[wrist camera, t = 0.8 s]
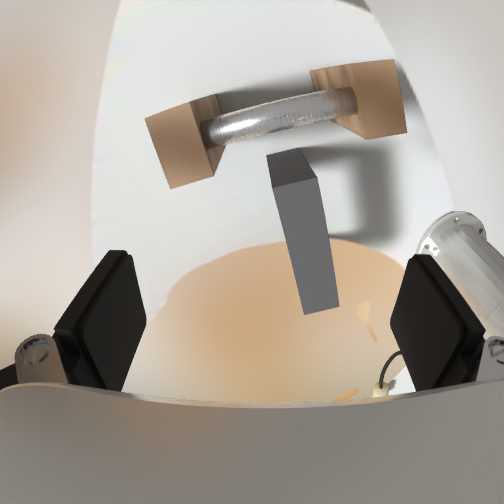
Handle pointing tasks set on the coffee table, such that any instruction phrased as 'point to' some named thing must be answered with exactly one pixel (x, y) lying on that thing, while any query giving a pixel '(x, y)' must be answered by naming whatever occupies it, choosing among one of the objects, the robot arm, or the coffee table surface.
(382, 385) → the cable
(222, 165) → the coffee table surface
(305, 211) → the grey channel bracket
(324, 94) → the hook stand
